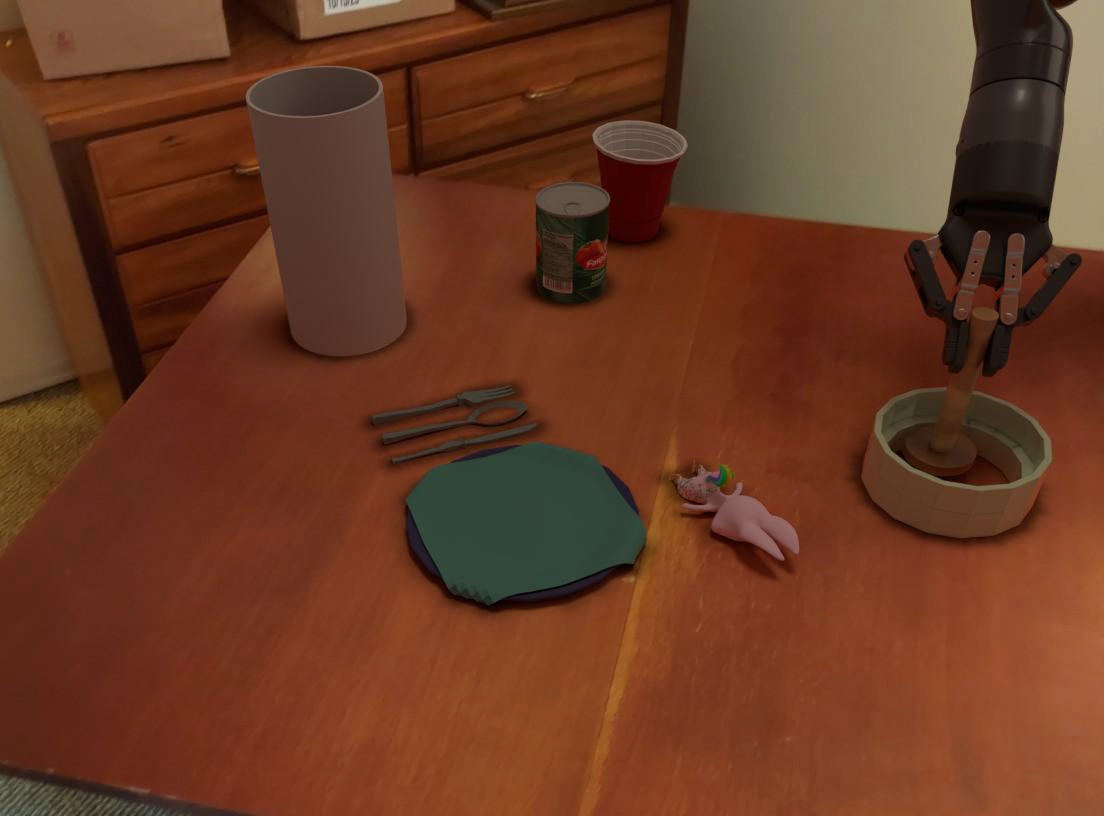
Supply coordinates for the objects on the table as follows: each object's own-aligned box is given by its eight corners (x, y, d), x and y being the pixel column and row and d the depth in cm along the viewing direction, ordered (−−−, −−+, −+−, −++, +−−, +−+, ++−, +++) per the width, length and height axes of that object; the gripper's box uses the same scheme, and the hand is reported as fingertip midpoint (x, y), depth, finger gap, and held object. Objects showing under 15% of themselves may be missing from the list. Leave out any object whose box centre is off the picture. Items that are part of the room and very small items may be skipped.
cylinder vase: (391, 367, 110) (362, 120, 92) (276, 358, 112) (225, 114, 94) (419, 305, 118) (397, 68, 101) (312, 297, 120) (272, 63, 102)
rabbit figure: (652, 505, 96) (758, 587, 85) (651, 447, 92) (761, 525, 81) (709, 483, 98) (820, 561, 86) (710, 425, 94) (825, 498, 83)
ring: (903, 422, 101) (919, 369, 97) (1053, 482, 94) (1077, 427, 90) (831, 498, 94) (845, 444, 89) (988, 568, 87) (1011, 513, 83)
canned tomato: (536, 274, 122) (535, 181, 115) (604, 274, 122) (609, 180, 114) (535, 311, 117) (534, 215, 109) (606, 310, 117) (611, 214, 109)
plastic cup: (676, 261, 124) (686, 158, 115) (584, 256, 125) (587, 154, 117) (680, 217, 131) (690, 118, 123) (593, 213, 133) (596, 115, 124)
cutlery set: (450, 643, 83) (448, 623, 81) (352, 429, 103) (348, 410, 101) (679, 576, 87) (681, 556, 86) (542, 384, 107) (542, 364, 105)
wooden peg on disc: (920, 426, 96) (964, 286, 86) (984, 451, 94) (1038, 310, 84) (890, 458, 93) (932, 317, 83) (956, 485, 90) (1007, 342, 80)
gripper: (926, 130, 82) (891, 353, 82) (1118, 143, 79) (1081, 373, 80) (907, 168, 89) (875, 373, 90) (1082, 181, 87) (1048, 392, 87)
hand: (972, 372), depth 85 cm, fingers closed on wooden peg on disc
